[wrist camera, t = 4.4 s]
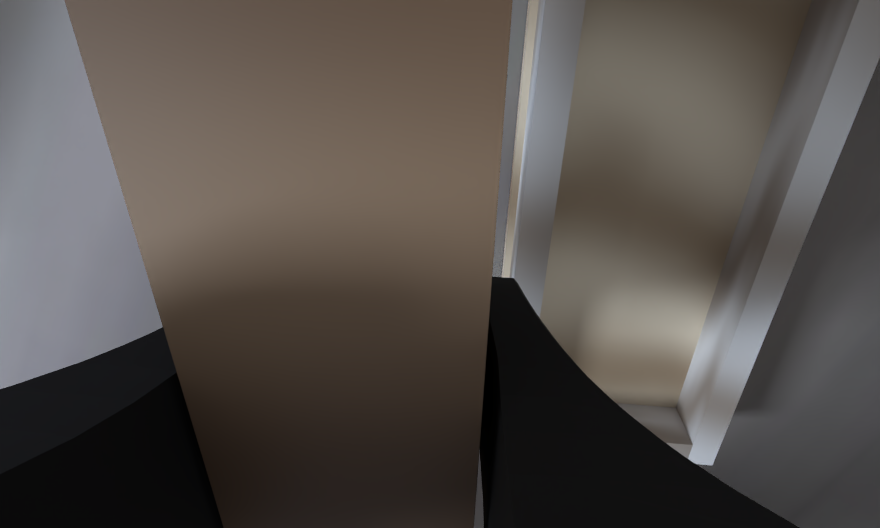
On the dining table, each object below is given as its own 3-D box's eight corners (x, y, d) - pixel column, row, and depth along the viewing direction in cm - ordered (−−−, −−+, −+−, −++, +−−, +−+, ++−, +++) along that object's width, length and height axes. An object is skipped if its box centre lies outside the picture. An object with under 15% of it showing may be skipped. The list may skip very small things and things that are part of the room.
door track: (694, 417, 22) (718, 465, 19) (489, 400, 22) (489, 446, 20) (873, -76, 13) (952, -93, 11) (536, -82, 14) (546, -99, 12)
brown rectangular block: (470, 443, 15) (459, 720, 9) (356, 433, 15) (274, 698, 9) (499, -17, 9) (515, -46, 3) (315, -20, 9) (49, -50, 4)
